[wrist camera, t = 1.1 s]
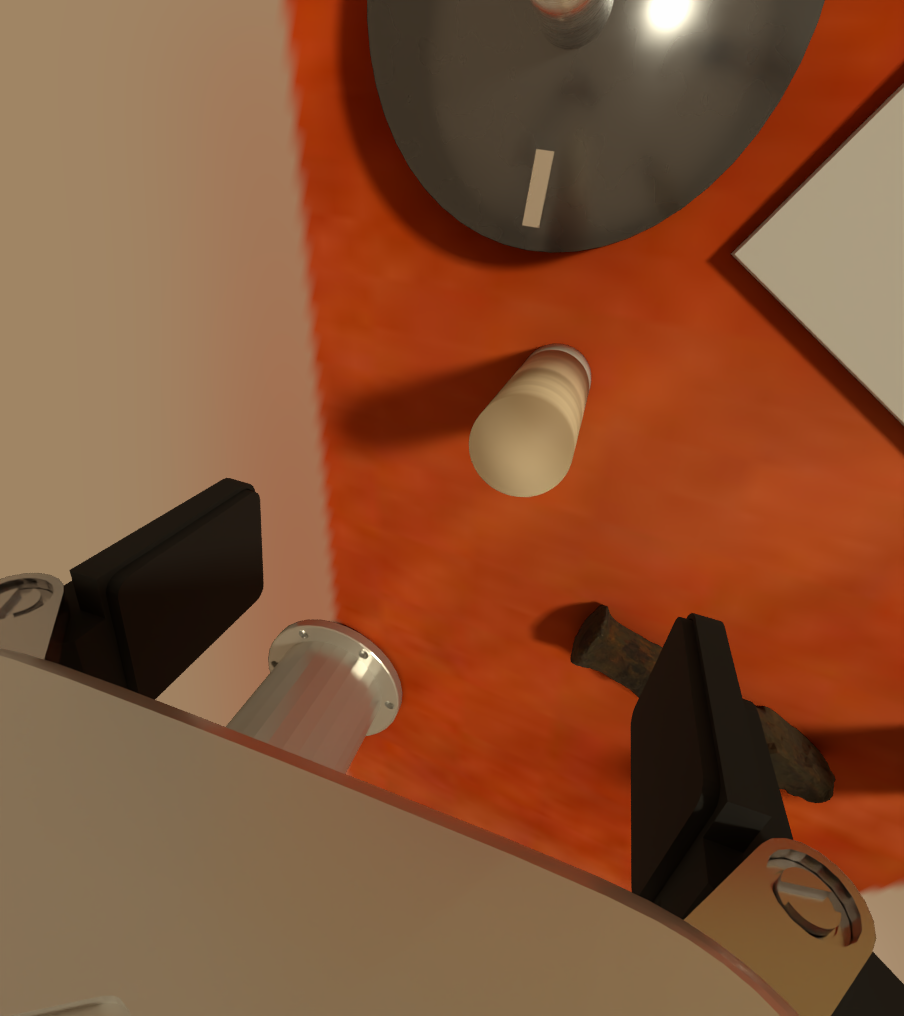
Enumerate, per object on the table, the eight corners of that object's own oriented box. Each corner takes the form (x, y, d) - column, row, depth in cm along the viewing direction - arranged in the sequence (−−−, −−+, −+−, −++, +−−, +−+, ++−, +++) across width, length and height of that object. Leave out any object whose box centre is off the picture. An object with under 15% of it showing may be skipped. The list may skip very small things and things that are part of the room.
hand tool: (568, 629, 38) (562, 675, 34) (602, 594, 36) (599, 639, 32) (789, 770, 38) (808, 832, 34) (836, 744, 36) (862, 807, 32)
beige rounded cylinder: (556, 426, 31) (523, 515, 21) (507, 381, 31) (448, 449, 21) (606, 377, 29) (596, 448, 19) (554, 328, 29) (515, 374, 19)
